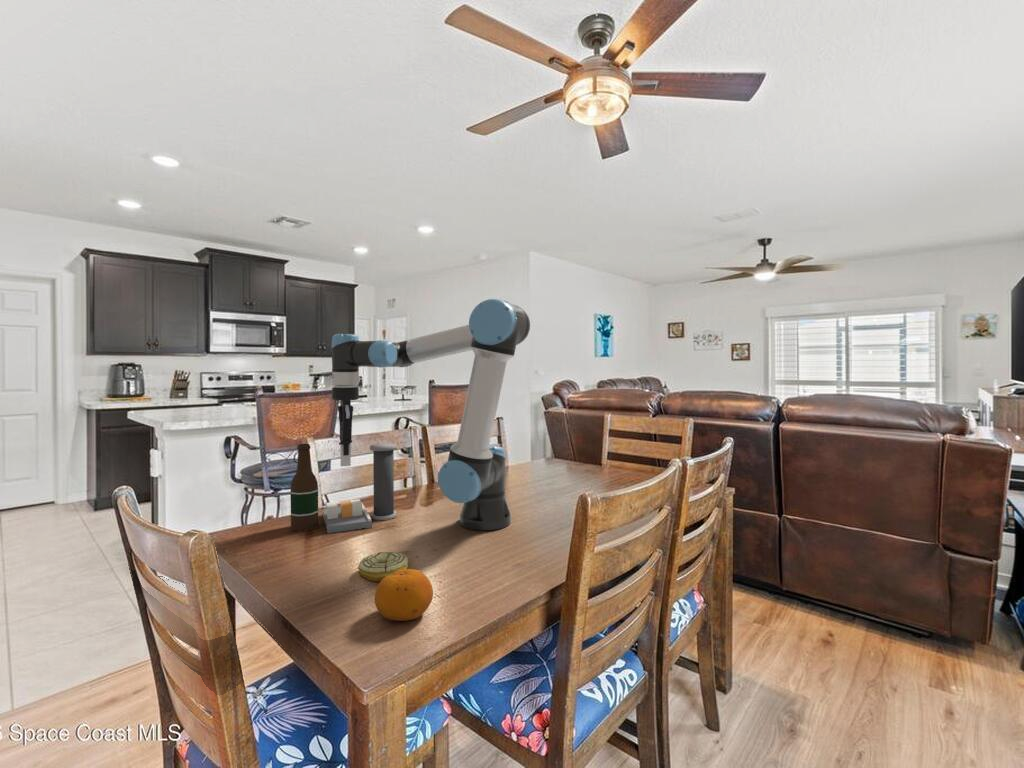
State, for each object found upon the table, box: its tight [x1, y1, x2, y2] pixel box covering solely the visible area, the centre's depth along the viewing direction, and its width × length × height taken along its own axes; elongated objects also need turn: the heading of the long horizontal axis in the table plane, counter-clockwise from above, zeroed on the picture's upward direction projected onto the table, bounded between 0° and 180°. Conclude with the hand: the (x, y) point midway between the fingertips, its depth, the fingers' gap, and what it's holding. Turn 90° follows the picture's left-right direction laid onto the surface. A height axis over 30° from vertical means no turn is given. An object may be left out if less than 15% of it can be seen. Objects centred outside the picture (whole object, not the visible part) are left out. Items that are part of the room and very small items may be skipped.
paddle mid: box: [339, 499, 352, 518], centre depth 144 cm, size 5×3×4 cm, turn 25°
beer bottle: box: [290, 443, 319, 532], centre depth 138 cm, size 8×8×24 cm
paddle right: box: [350, 498, 363, 516], centre depth 145 cm, size 5×3×4 cm, turn 25°
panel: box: [322, 502, 373, 534], centre depth 144 cm, size 18×12×3 cm, turn 25°
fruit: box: [374, 568, 434, 622], centre depth 90 cm, size 10×10×8 cm
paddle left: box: [325, 501, 339, 519], centre depth 142 cm, size 5×3×4 cm, turn 25°
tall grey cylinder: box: [369, 443, 398, 522], centre depth 149 cm, size 8×8×22 cm
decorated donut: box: [357, 551, 409, 582], centre depth 109 cm, size 10×11×4 cm
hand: (345, 465), depth 144 cm, fingers closed
